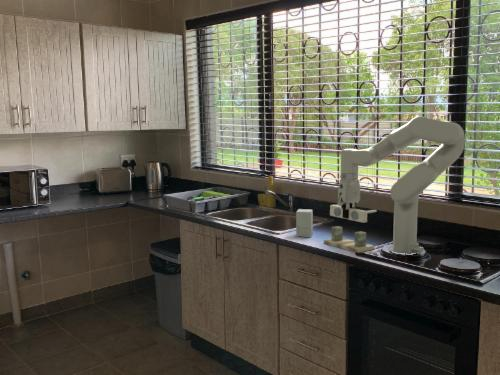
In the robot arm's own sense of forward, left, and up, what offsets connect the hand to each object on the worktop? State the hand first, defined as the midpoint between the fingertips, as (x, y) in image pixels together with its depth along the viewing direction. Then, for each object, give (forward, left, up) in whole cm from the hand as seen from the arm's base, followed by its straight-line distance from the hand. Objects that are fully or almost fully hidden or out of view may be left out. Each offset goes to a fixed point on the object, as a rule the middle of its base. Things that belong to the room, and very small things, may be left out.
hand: (348, 217), depth 223 cm
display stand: (0, 0, -13) cm, 13 cm away
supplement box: (+28, +1, -13) cm, 31 cm away
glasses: (0, -3, -1) cm, 3 cm away
